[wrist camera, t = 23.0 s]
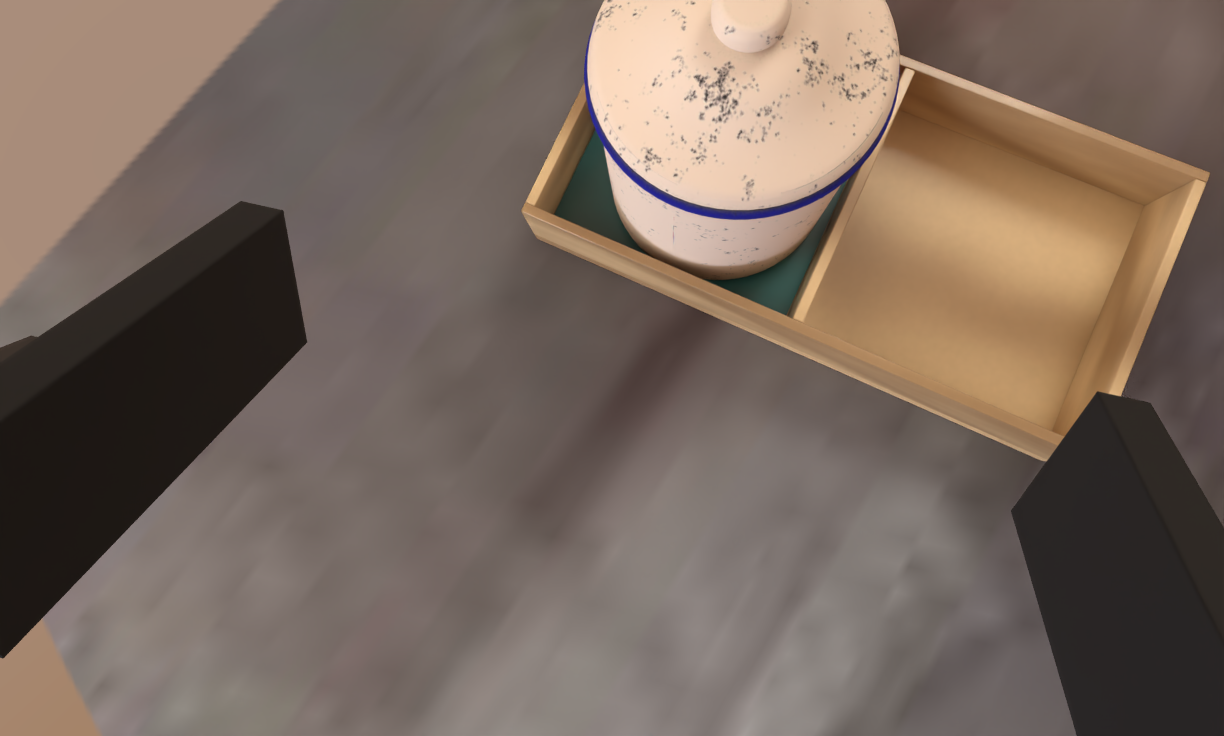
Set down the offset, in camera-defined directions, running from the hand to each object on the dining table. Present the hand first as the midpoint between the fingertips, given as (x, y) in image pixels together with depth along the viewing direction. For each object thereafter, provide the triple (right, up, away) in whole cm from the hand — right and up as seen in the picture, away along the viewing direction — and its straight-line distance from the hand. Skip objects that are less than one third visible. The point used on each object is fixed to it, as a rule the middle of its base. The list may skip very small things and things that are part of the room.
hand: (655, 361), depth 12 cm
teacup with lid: (+3, +9, +18) cm, 20 cm away
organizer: (+8, +6, +18) cm, 20 cm away
